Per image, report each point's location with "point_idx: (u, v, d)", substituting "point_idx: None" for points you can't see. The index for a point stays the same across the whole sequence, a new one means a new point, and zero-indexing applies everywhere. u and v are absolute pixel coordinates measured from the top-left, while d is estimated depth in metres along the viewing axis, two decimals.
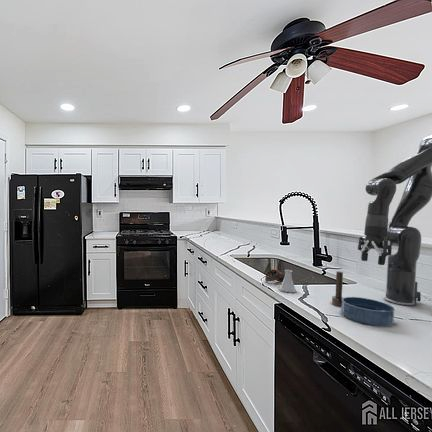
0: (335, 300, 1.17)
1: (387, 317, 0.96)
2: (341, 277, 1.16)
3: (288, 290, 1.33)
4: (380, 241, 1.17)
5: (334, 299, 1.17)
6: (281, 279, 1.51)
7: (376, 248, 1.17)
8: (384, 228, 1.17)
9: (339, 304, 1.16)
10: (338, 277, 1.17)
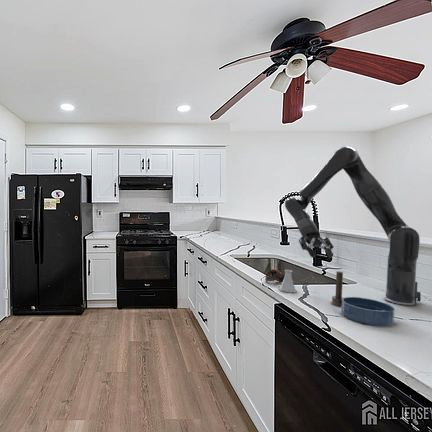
0: (335, 300, 1.17)
1: (387, 317, 0.96)
2: (341, 277, 1.16)
3: (288, 290, 1.33)
4: None
5: (334, 299, 1.17)
6: (281, 279, 1.51)
7: None
8: (301, 230, 1.38)
9: (339, 304, 1.16)
10: (338, 277, 1.17)
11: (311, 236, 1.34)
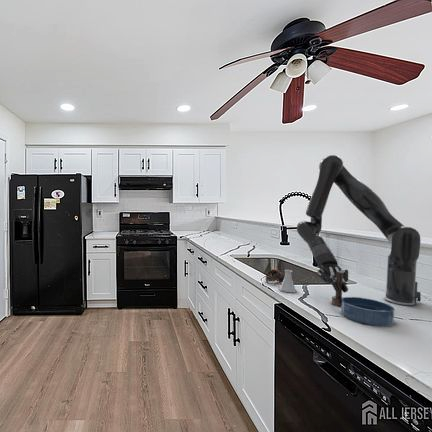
0: (335, 300, 1.17)
1: (387, 317, 0.96)
2: (341, 277, 1.16)
3: (288, 290, 1.33)
4: None
5: (334, 299, 1.17)
6: (281, 279, 1.51)
7: None
8: (317, 257, 1.26)
9: (339, 304, 1.16)
10: (338, 277, 1.17)
11: (327, 265, 1.23)
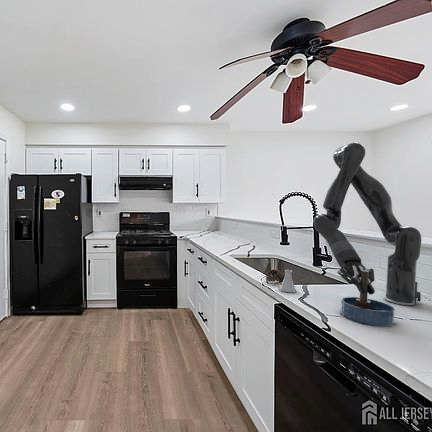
0: (360, 303, 1.03)
1: (387, 317, 0.96)
2: (366, 277, 1.02)
3: (288, 290, 1.33)
4: None
5: (359, 302, 1.03)
6: (282, 279, 1.50)
7: None
8: (337, 255, 1.12)
9: (364, 308, 1.02)
10: (363, 277, 1.03)
11: (350, 263, 1.09)
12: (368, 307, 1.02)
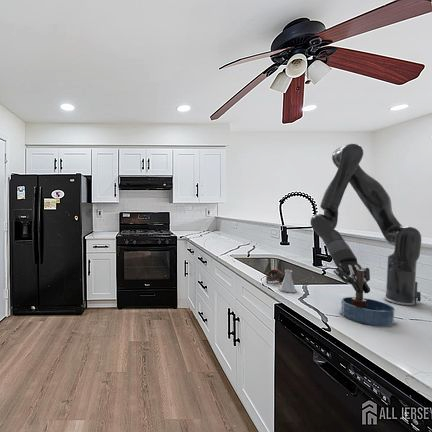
0: (355, 301, 1.04)
1: (387, 317, 0.96)
2: (362, 276, 1.04)
3: (288, 290, 1.33)
4: None
5: (354, 300, 1.05)
6: (282, 279, 1.50)
7: None
8: (333, 254, 1.14)
9: (360, 306, 1.04)
10: (359, 276, 1.04)
11: (346, 263, 1.10)
12: (364, 306, 1.03)
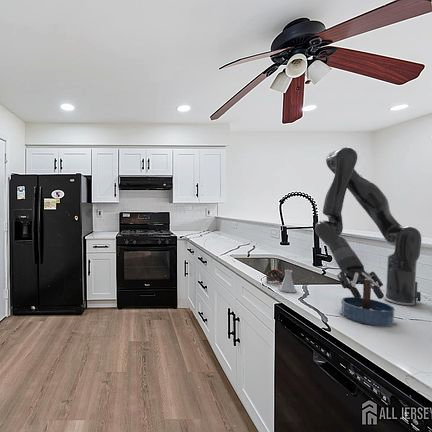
0: None
1: (387, 317, 0.96)
2: (369, 285, 1.02)
3: (288, 290, 1.33)
4: None
5: None
6: (282, 279, 1.50)
7: None
8: (340, 262, 1.12)
9: None
10: (365, 285, 1.03)
11: (353, 270, 1.09)
12: None
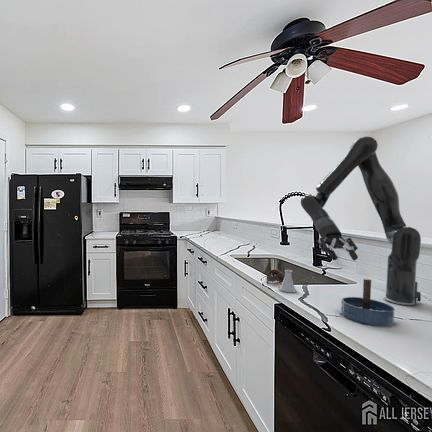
0: None
1: (387, 317, 0.96)
2: (369, 285, 1.02)
3: (288, 290, 1.33)
4: None
5: None
6: (282, 279, 1.50)
7: None
8: (320, 230, 1.25)
9: None
10: (365, 285, 1.03)
11: (331, 237, 1.21)
12: None
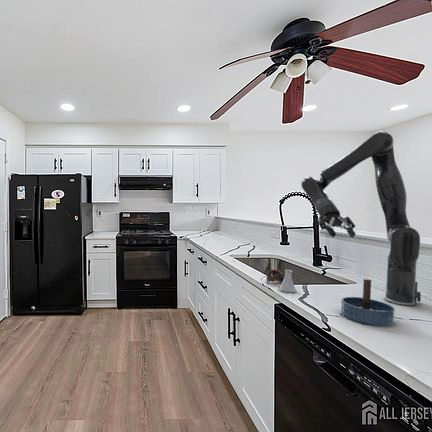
0: None
1: (387, 317, 0.96)
2: (369, 285, 1.02)
3: (288, 290, 1.33)
4: (323, 220, 1.28)
5: None
6: (282, 279, 1.50)
7: None
8: (320, 209, 1.30)
9: None
10: (365, 285, 1.03)
11: (330, 215, 1.27)
12: None
